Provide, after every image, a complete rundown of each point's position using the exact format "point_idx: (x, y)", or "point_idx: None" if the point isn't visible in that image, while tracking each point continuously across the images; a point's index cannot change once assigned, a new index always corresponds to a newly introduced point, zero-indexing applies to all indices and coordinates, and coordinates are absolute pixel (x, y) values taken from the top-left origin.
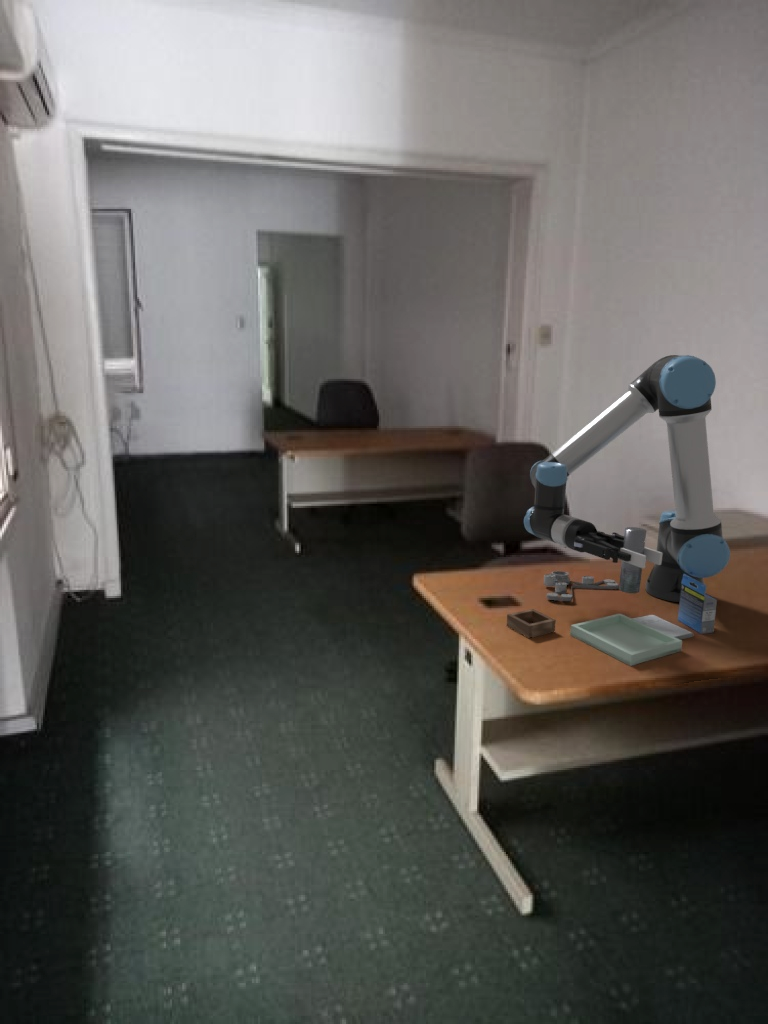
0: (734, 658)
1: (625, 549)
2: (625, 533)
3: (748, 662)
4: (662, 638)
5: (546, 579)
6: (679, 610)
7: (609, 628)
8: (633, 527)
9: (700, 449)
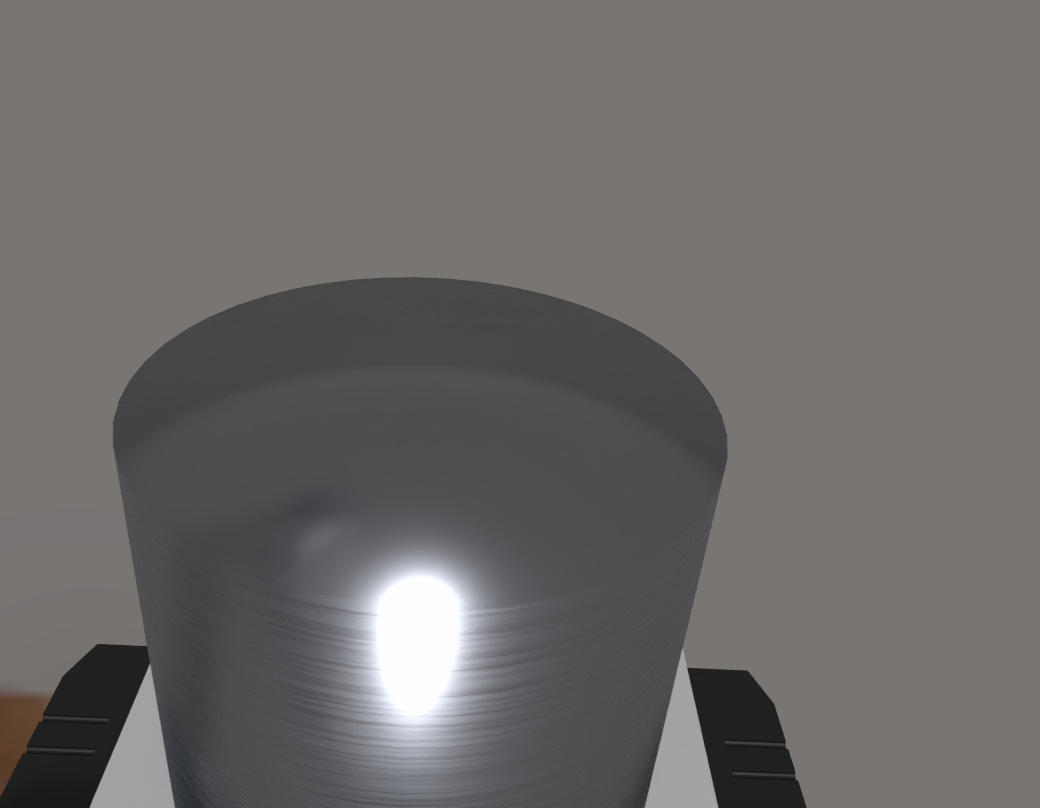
0: (7, 759)
1: (680, 769)
2: (692, 588)
3: (13, 701)
4: None
5: None
6: None
7: None
8: (224, 527)
9: None
